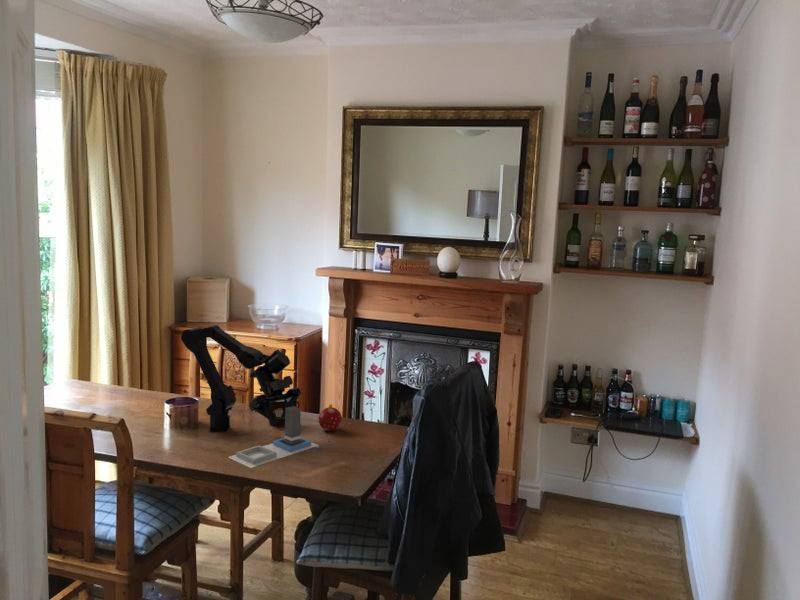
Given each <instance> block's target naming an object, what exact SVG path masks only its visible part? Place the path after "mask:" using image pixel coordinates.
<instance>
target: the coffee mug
mask: <svg viewBox="0 0 800 600" xmlns="http://www.w3.org/2000/svg"><path fill="white" fill-rule="evenodd" d="M286 404H287V402H285V401H284V400H279V401H275V402H270V403H269V407H270V410H271V412H272V414H273V416H274V418H275V421H276V422H275V423H272V422H271V421H270V420H268V425H269V426H271V427H275V426H278V428H279V427H285V408H288V407H287V405H286ZM297 405H298V406H297V407H298V408H300V402H299V401H298V400H297Z"/></svg>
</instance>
